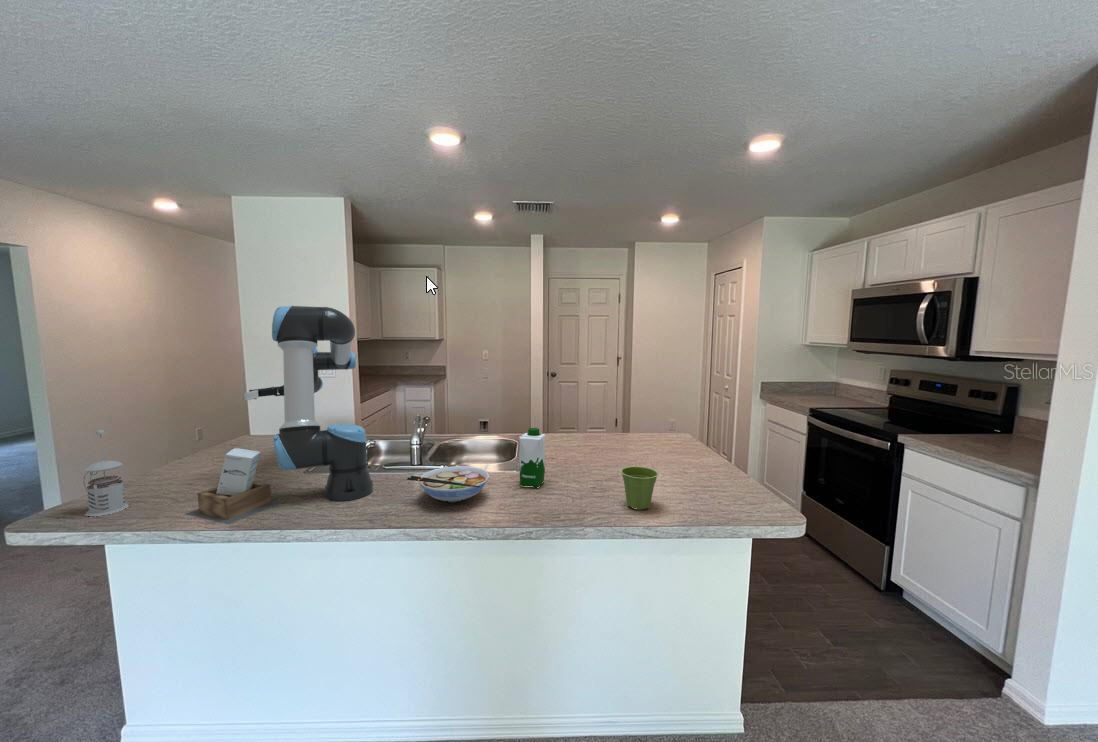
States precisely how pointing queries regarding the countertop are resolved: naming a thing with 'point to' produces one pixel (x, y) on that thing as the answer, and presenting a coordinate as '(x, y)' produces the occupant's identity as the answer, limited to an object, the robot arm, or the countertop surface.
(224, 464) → the supplement box
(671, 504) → the countertop surface
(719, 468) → the countertop surface
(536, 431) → the milk carton
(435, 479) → the ramen bowl
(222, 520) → the mat
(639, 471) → the plant pot
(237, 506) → the tray
